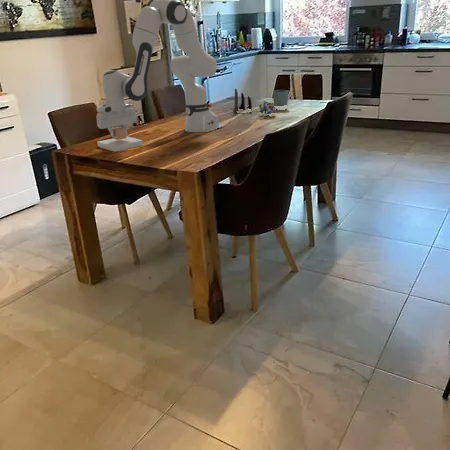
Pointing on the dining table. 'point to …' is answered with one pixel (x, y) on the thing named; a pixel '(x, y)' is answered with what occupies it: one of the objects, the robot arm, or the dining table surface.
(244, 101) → the letter holder
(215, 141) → the dining table surface
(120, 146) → the base plate
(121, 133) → the terracotta block
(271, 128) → the dining table surface
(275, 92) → the grey tapered pot
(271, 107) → the passion flower
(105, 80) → the robot arm
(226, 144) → the dining table surface
